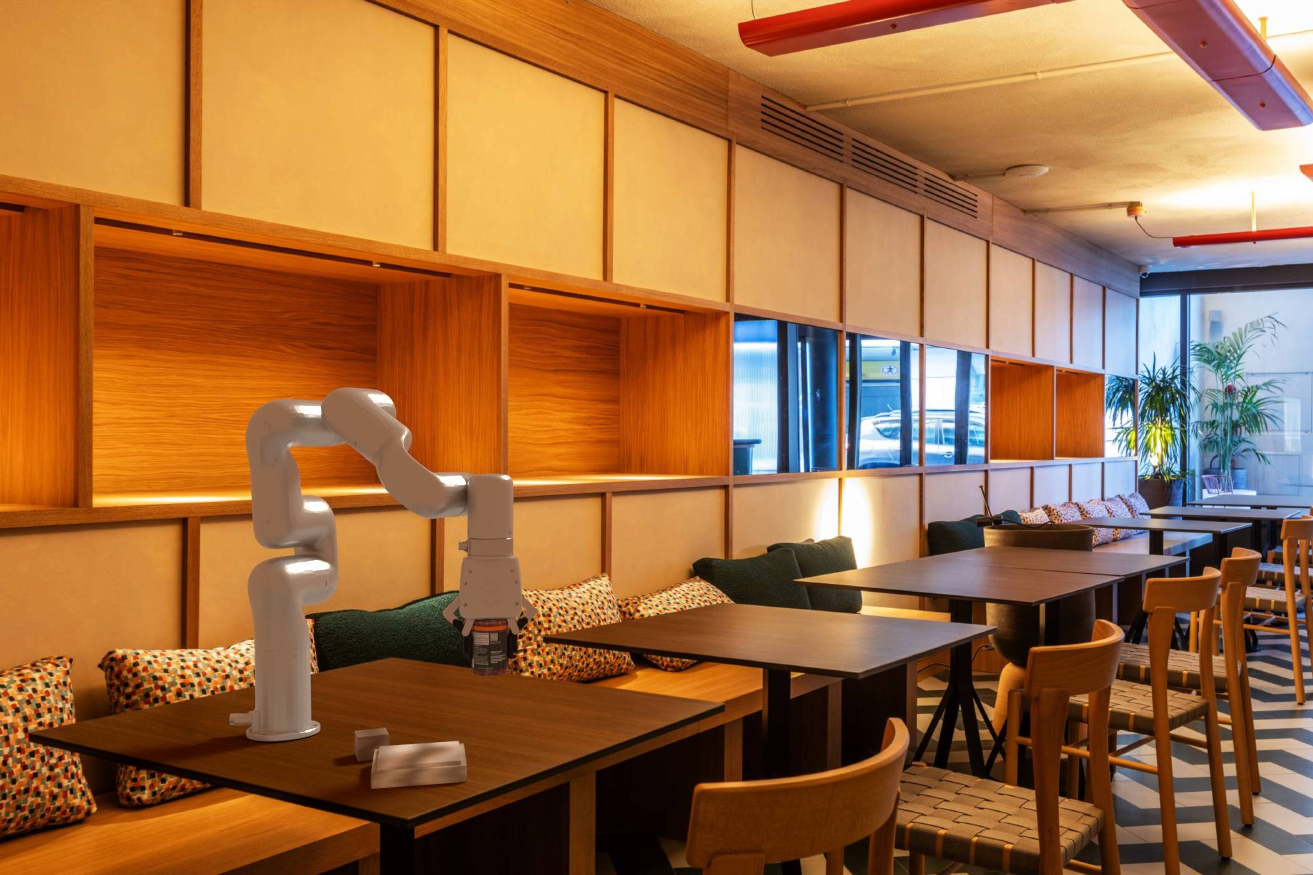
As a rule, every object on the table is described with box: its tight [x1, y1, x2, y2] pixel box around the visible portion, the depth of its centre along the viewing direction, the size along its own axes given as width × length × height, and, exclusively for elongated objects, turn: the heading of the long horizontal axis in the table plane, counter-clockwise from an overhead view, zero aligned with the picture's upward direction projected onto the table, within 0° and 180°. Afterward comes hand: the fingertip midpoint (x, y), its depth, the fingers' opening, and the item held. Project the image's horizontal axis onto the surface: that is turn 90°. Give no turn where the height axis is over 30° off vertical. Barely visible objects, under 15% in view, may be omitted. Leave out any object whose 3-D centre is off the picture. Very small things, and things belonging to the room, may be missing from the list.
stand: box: [370, 740, 468, 790], centre depth 177 cm, size 14×14×3 cm
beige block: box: [354, 727, 390, 762], centre depth 188 cm, size 5×5×4 cm
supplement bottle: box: [471, 619, 510, 677], centre depth 188 cm, size 6×6×11 cm
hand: (490, 657), depth 188 cm, fingers closed on supplement bottle, 6 cm apart
